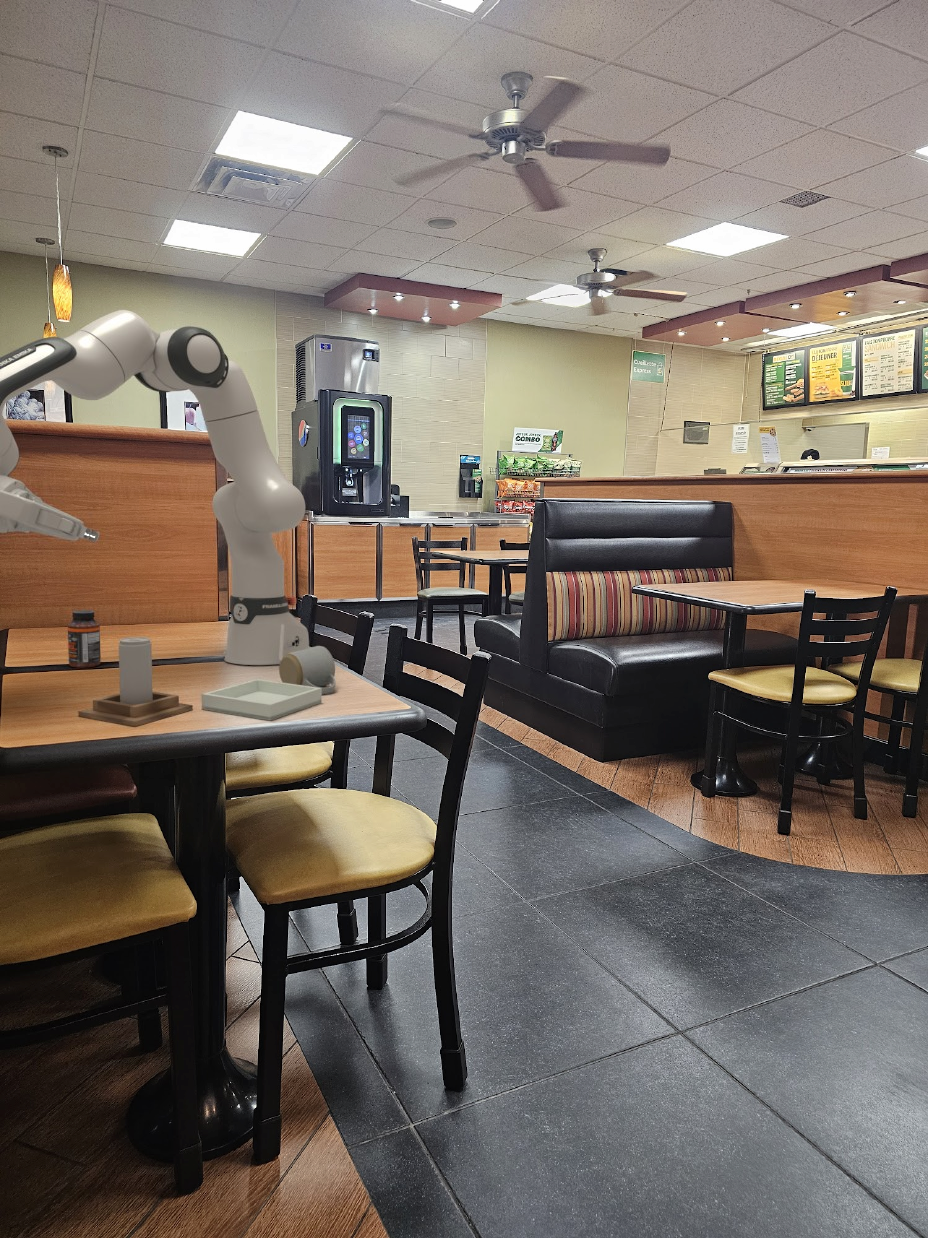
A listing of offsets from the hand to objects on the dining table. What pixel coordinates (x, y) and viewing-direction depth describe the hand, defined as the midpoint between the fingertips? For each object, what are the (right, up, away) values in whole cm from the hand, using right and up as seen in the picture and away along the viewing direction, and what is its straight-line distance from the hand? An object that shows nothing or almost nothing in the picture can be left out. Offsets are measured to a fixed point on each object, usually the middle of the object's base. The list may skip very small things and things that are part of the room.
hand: (85, 532), depth 126 cm
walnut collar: (+8, -29, 0) cm, 30 cm away
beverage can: (+8, -29, 0) cm, 30 cm away
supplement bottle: (-17, -24, +36) cm, 46 cm away
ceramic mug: (+32, -27, +21) cm, 47 cm away
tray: (+27, -29, +7) cm, 40 cm away
